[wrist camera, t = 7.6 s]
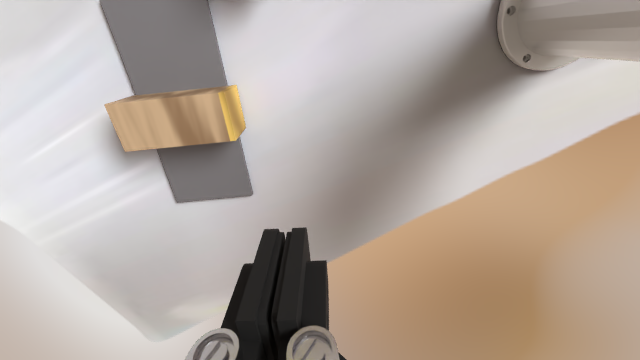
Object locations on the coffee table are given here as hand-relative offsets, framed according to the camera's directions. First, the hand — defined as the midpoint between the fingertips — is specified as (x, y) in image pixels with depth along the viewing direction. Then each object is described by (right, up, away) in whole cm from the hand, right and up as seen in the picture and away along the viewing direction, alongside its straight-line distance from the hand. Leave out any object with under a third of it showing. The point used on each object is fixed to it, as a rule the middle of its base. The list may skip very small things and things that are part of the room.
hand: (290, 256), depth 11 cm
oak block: (-8, +11, +19) cm, 23 cm away
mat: (-15, +11, +22) cm, 29 cm away
